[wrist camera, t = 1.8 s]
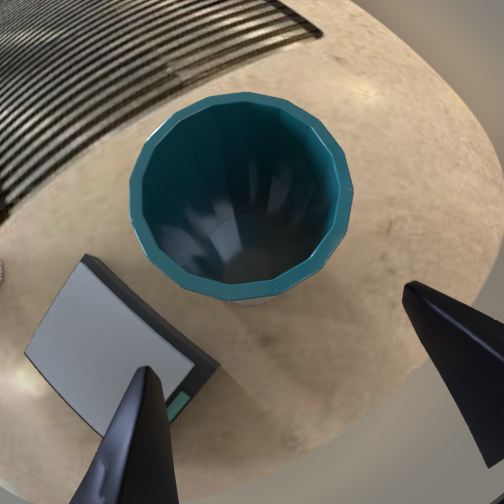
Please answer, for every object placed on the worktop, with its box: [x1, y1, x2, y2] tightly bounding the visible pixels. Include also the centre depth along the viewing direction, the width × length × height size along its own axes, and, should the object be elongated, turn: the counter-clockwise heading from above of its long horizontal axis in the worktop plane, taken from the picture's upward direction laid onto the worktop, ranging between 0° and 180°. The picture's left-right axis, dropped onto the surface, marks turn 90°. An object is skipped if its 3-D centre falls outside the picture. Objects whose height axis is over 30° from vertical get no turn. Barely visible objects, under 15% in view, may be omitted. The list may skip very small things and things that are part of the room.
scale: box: [24, 253, 220, 438], centre depth 19 cm, size 12×10×3 cm
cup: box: [129, 92, 354, 307], centre depth 15 cm, size 7×7×13 cm
